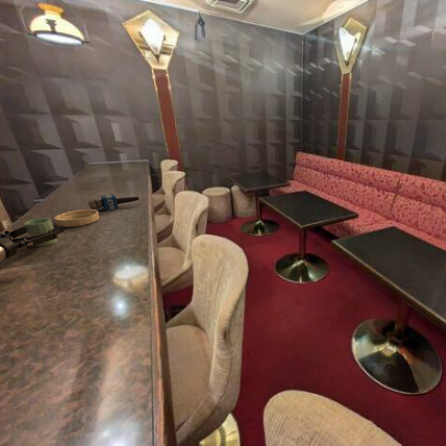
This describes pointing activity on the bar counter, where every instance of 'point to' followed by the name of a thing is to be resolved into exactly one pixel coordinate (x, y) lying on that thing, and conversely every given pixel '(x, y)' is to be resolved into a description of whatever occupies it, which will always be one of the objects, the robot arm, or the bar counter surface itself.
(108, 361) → the bar counter surface
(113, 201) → the microphone
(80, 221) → the bowl
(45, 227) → the tumbler
